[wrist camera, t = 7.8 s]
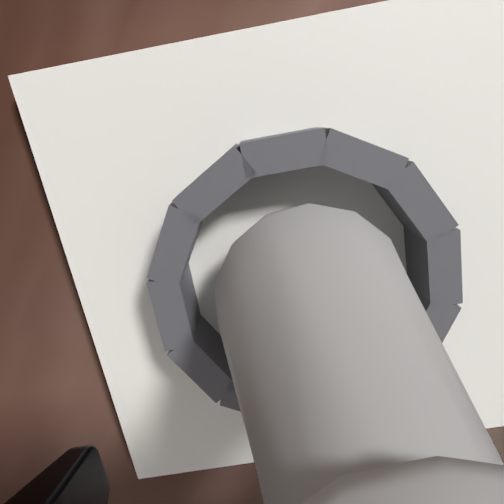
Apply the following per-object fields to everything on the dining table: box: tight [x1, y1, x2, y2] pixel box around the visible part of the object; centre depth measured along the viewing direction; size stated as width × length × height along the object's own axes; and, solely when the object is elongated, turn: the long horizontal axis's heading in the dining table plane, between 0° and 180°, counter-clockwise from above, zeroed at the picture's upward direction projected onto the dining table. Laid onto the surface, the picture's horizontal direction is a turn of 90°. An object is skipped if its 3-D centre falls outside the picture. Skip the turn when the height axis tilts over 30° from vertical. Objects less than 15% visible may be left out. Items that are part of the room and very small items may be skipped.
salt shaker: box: [214, 203, 504, 504], centre depth 9 cm, size 6×6×13 cm
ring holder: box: [8, 0, 504, 479], centre depth 14 cm, size 16×16×3 cm
